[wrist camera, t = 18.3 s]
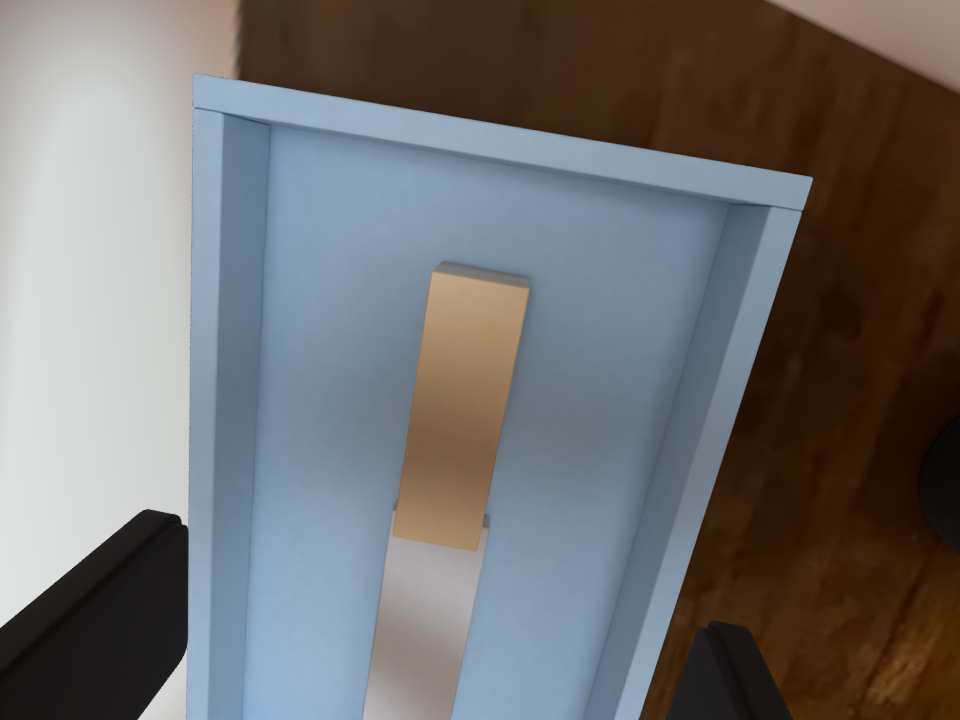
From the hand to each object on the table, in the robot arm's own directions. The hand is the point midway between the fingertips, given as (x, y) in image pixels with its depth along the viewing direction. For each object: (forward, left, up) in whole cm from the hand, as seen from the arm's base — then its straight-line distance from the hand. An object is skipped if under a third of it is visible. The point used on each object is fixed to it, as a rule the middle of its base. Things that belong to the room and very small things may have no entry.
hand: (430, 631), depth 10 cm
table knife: (+3, 0, -7) cm, 8 cm away
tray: (+3, 0, -8) cm, 8 cm away
